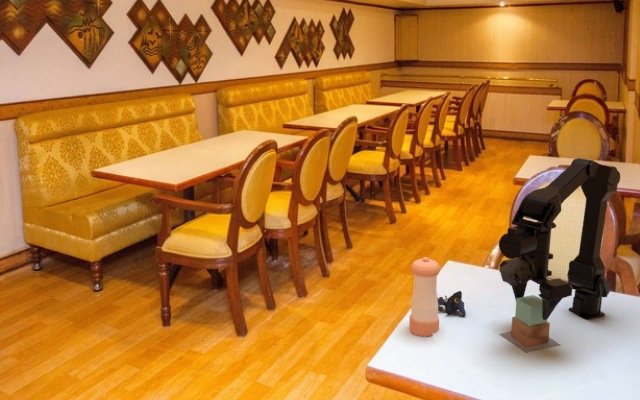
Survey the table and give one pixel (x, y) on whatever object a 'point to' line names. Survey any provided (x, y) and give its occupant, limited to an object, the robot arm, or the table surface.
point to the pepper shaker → (424, 298)
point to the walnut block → (530, 333)
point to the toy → (453, 303)
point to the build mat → (533, 348)
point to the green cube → (529, 310)
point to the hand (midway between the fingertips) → (531, 311)
